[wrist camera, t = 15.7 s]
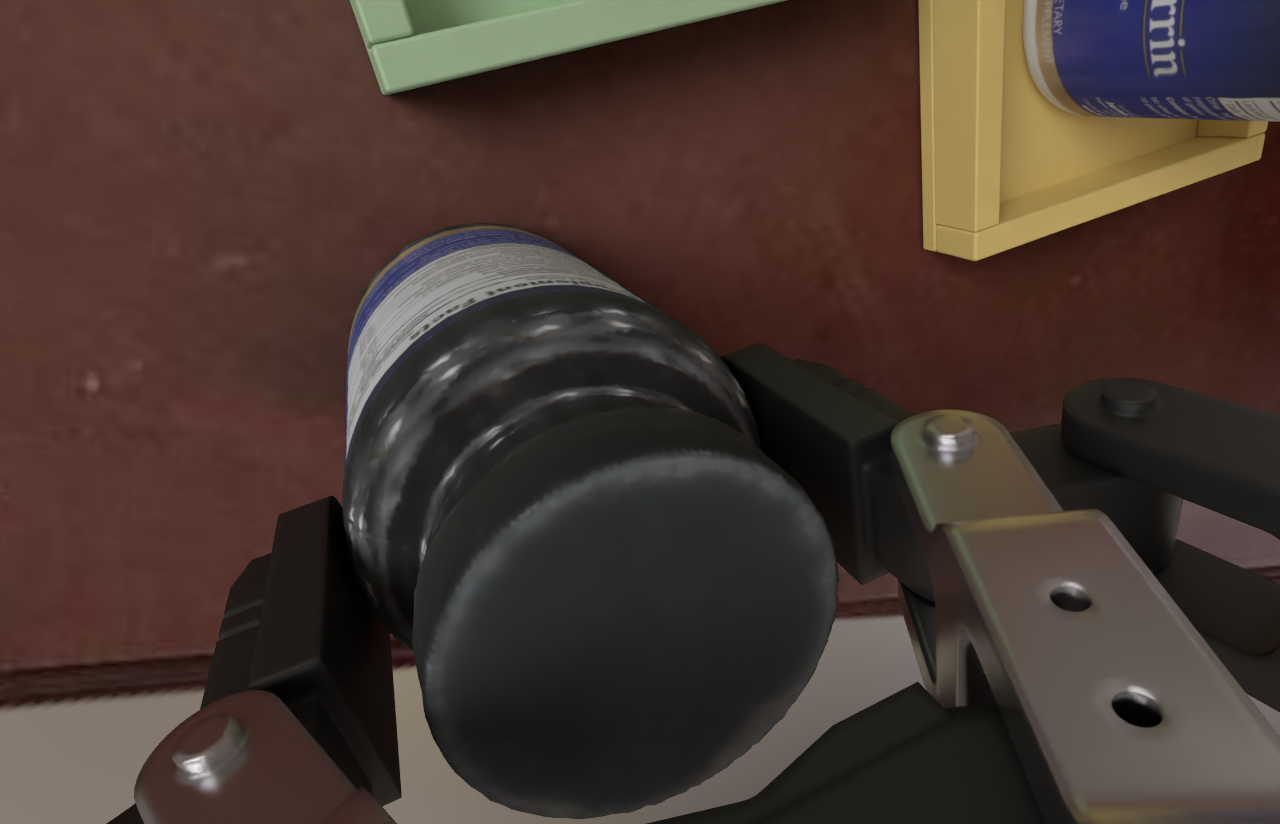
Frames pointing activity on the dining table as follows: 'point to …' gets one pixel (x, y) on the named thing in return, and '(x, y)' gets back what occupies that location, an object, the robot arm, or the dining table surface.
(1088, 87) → the pill bottle
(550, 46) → the green tray
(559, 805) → the pill bottle
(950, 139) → the yellow tray
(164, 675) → the dining table surface
